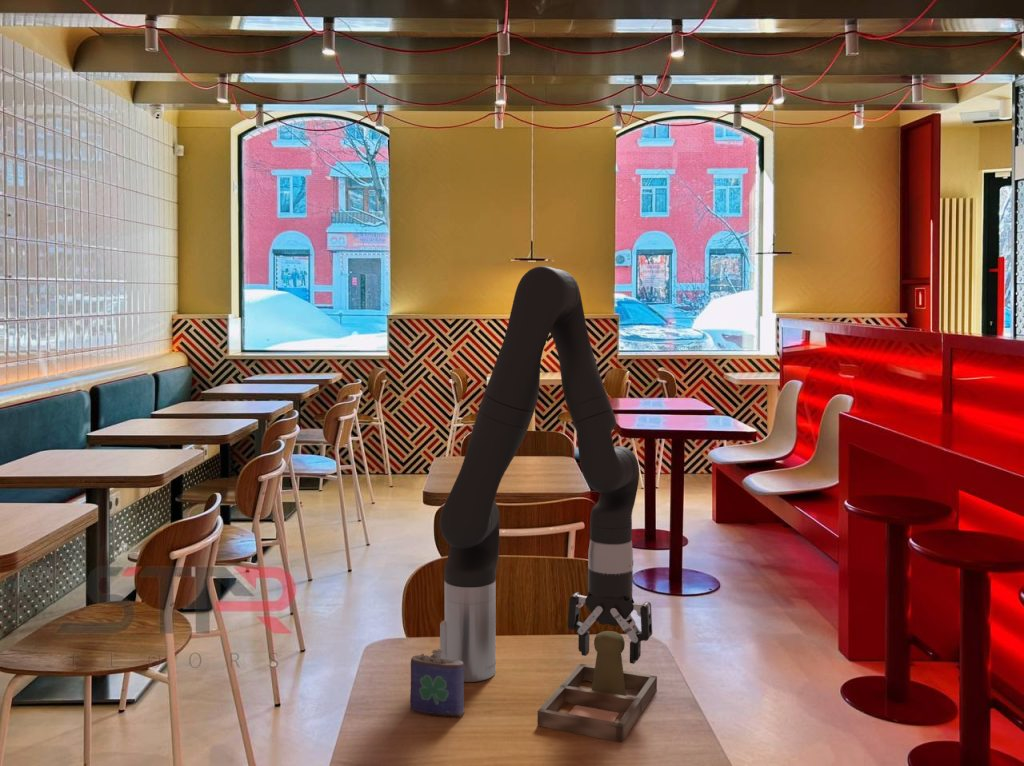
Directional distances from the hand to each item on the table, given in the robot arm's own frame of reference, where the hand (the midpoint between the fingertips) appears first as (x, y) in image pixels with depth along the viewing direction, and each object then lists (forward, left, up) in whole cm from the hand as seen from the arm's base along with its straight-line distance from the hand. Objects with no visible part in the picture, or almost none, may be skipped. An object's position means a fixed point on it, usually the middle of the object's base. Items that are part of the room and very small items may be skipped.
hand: (609, 658), depth 164 cm
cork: (0, 0, -7) cm, 7 cm away
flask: (-24, -18, -7) cm, 30 cm away
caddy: (0, -5, -7) cm, 8 cm away
